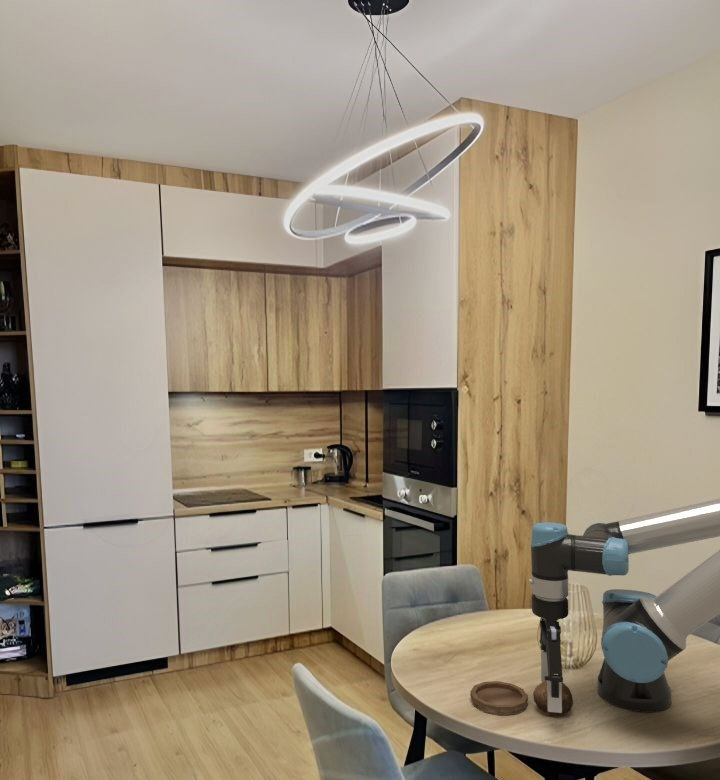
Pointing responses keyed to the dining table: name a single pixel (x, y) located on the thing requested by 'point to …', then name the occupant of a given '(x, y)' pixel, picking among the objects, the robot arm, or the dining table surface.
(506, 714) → the tray
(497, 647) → the dining table surface
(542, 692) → the brown ball
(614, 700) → the robot arm
